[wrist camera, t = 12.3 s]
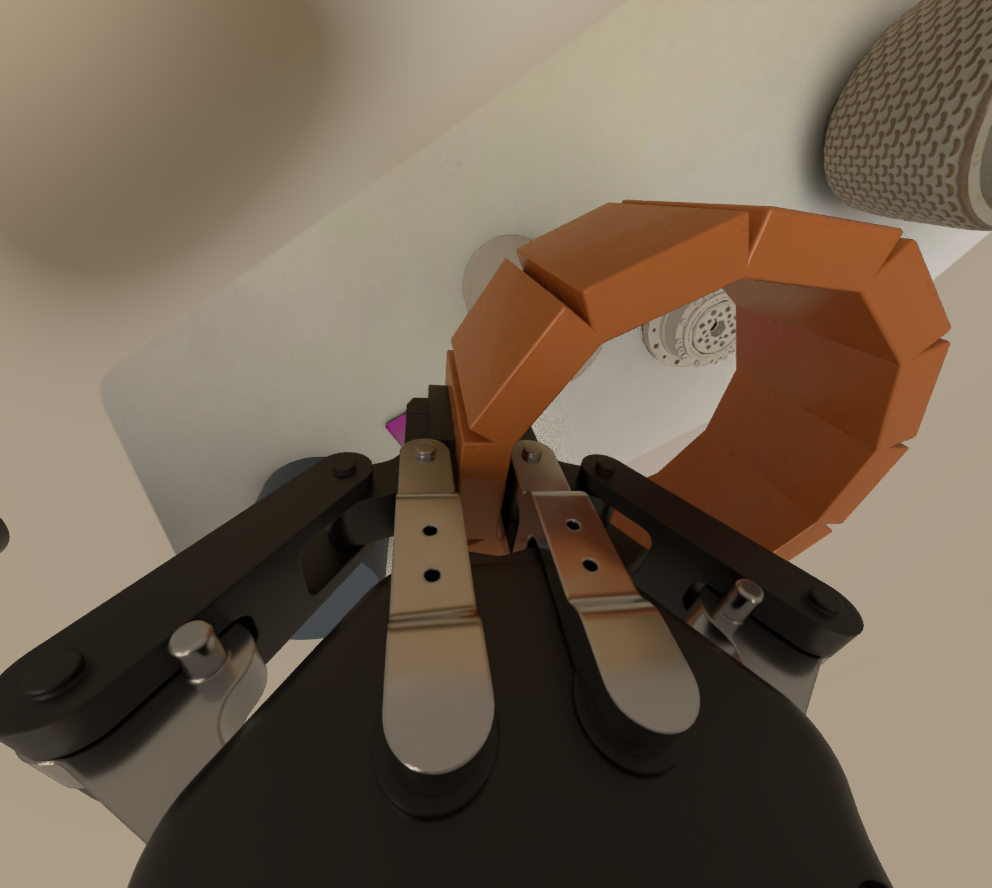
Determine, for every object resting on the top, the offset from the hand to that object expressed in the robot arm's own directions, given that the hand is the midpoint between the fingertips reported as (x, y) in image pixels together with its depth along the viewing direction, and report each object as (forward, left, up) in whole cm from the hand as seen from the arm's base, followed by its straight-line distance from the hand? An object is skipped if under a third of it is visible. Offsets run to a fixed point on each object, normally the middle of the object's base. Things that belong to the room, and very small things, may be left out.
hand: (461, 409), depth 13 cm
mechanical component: (+24, -6, -22) cm, 33 cm away
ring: (+6, -1, -1) cm, 6 cm away
